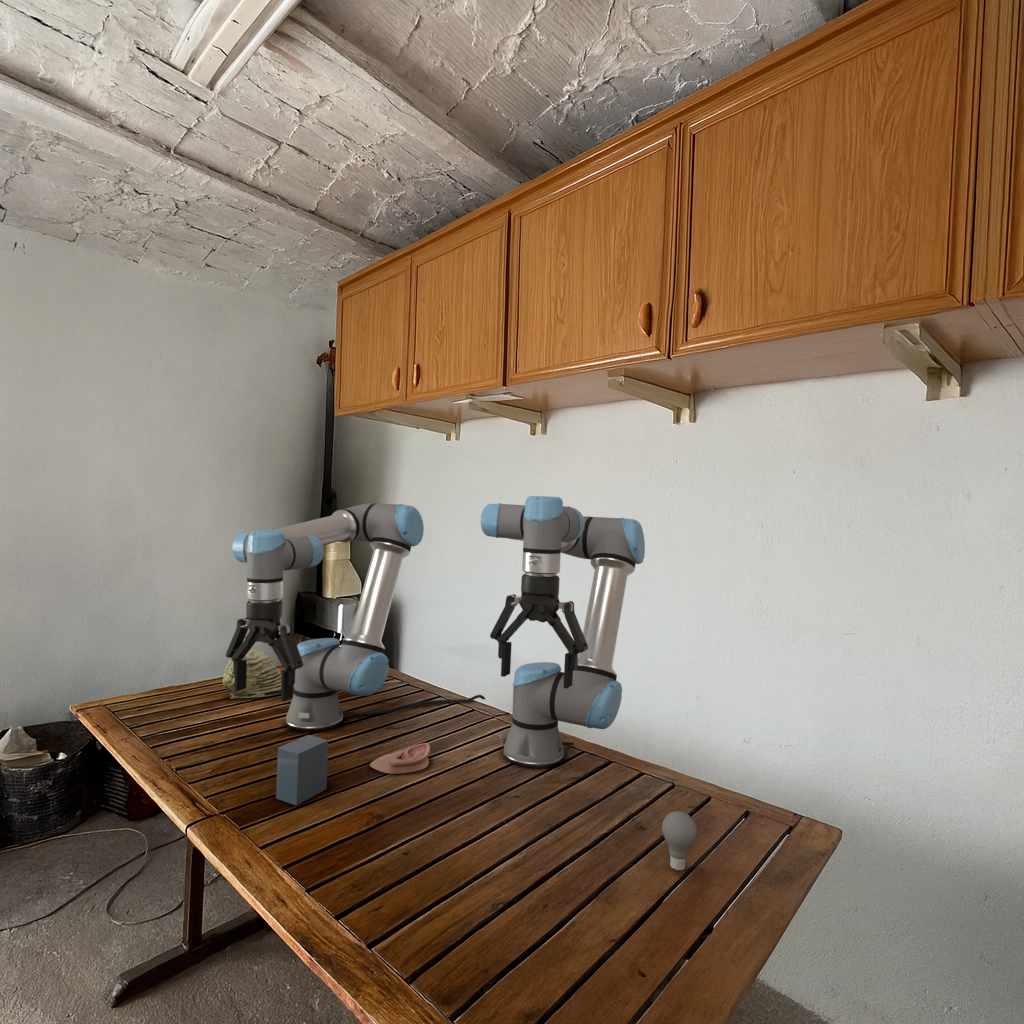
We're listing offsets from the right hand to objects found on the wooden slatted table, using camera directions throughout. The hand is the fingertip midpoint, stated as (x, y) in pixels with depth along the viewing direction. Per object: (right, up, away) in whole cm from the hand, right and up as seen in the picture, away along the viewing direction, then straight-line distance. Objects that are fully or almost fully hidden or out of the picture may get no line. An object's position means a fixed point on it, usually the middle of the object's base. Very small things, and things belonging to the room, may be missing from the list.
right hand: (535, 680), depth 126 cm
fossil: (-85, -24, +72) cm, 114 cm away
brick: (-50, -27, +9) cm, 57 cm away
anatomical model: (-31, -27, +26) cm, 49 cm away
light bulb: (+25, -30, -13) cm, 41 cm away
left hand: (-60, -7, +16) cm, 63 cm away
